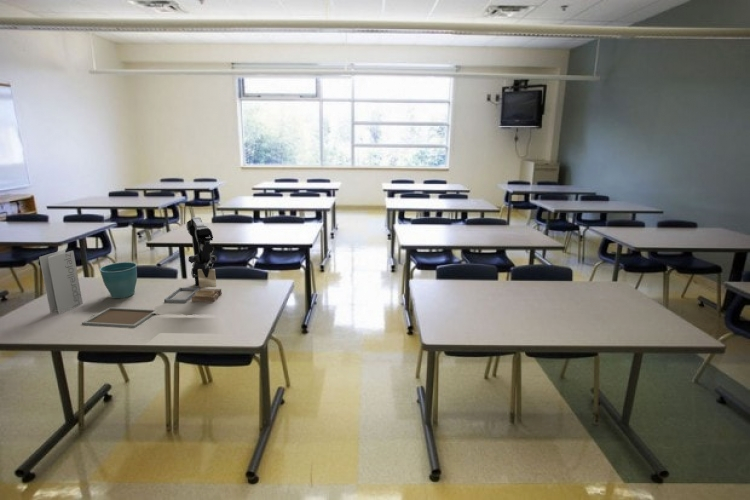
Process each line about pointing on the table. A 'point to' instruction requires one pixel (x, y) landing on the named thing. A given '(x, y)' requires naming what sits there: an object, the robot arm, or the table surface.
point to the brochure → (61, 281)
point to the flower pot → (120, 279)
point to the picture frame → (120, 317)
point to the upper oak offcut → (204, 293)
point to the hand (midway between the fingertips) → (207, 276)
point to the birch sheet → (207, 278)
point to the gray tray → (179, 291)
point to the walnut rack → (207, 299)
